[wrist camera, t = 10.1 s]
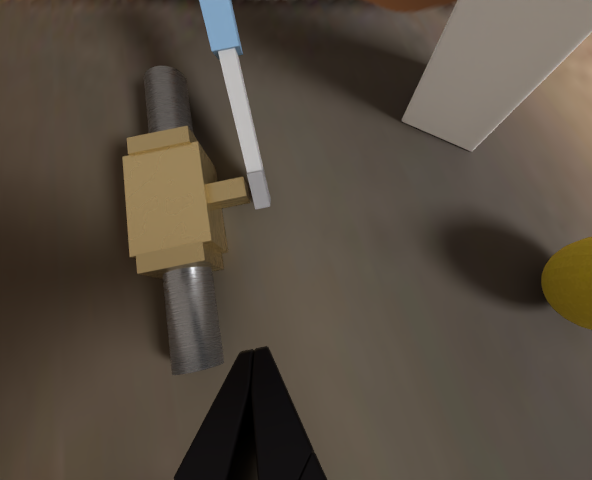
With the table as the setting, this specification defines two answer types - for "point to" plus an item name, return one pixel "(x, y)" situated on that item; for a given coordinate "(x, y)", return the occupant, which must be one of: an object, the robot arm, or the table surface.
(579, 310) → the lemon
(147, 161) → the valve
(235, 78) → the lever
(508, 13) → the milk
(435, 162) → the table surface
